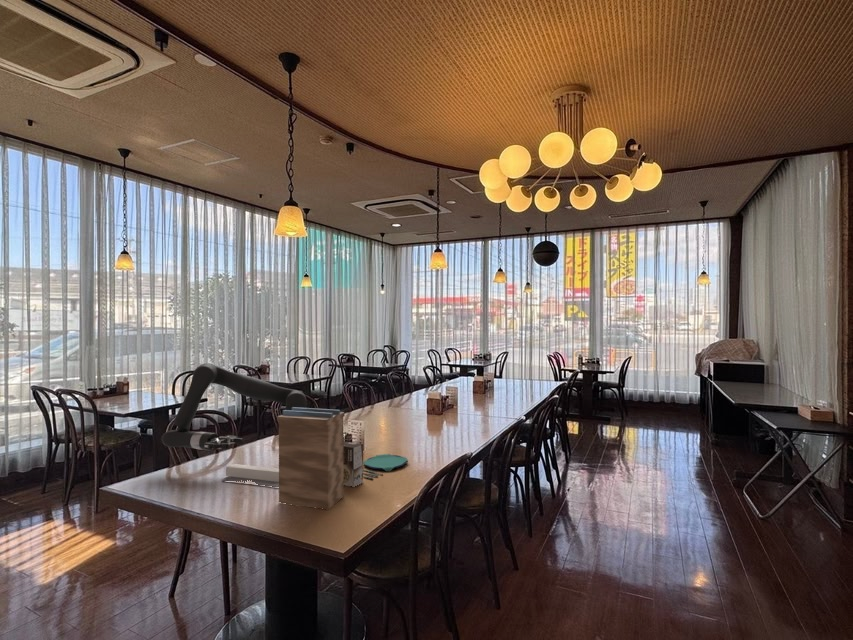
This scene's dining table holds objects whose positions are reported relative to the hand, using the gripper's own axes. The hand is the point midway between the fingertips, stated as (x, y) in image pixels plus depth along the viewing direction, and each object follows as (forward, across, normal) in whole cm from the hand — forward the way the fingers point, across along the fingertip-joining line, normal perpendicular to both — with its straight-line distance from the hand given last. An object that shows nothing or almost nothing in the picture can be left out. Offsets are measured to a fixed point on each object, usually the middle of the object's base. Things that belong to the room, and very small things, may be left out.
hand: (235, 443), depth 192 cm
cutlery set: (+55, +28, +14) cm, 63 cm away
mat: (+14, 0, +14) cm, 20 cm away
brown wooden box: (+45, -14, +14) cm, 49 cm away
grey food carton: (+51, +6, +14) cm, 53 cm away
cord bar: (+10, 0, +13) cm, 17 cm away
